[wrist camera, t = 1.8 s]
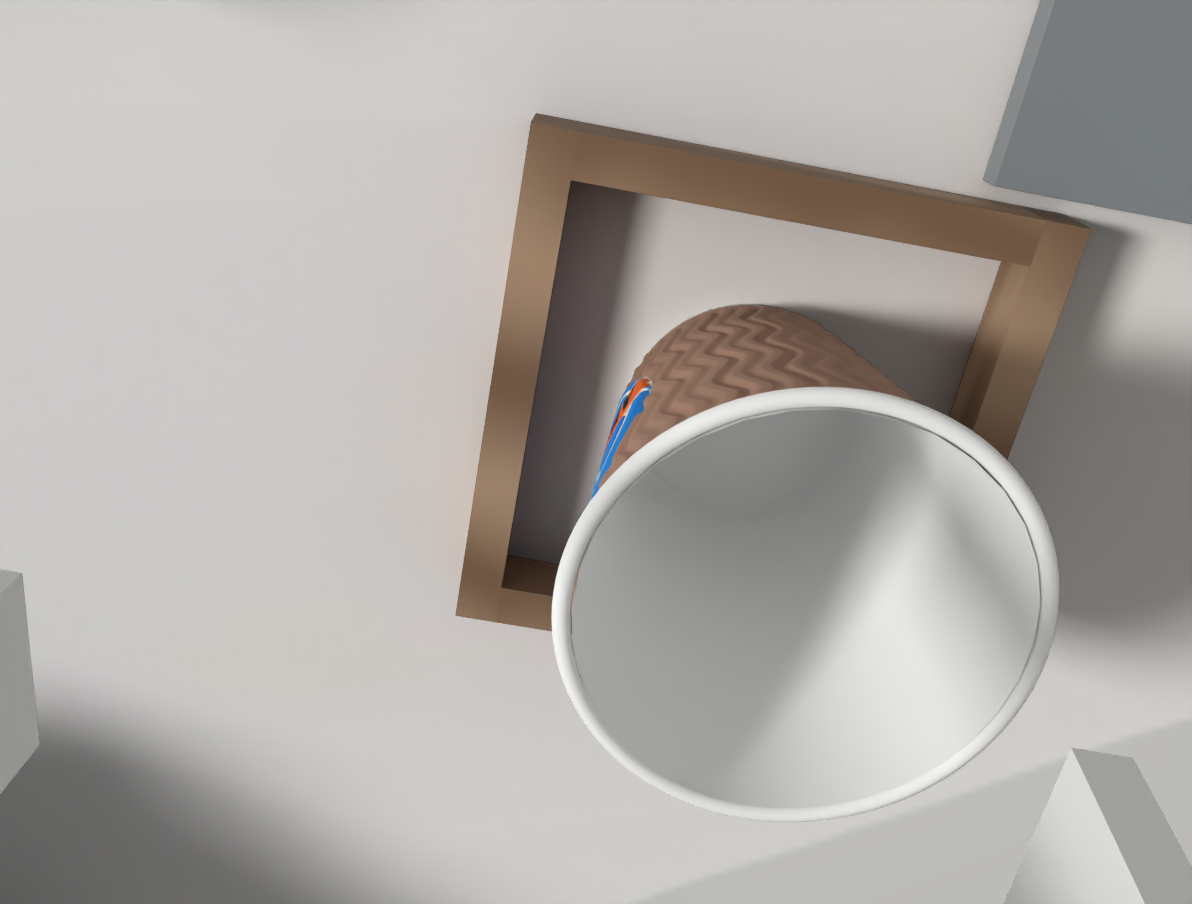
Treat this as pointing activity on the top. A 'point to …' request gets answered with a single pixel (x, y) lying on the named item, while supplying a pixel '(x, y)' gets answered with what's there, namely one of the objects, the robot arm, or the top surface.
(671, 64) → the top surface
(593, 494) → the coffee cup
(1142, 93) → the slate coaster
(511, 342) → the brown wooden square frame
